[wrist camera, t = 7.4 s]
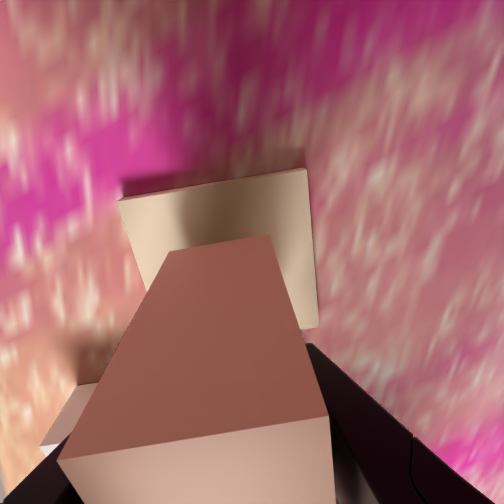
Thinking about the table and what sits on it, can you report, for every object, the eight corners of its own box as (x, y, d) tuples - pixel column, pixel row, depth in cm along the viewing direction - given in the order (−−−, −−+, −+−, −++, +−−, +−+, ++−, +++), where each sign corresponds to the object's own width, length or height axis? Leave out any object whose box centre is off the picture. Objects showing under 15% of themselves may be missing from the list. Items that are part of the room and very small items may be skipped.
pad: (302, 167, 13) (306, 169, 12) (315, 317, 16) (319, 326, 15) (122, 197, 13) (116, 201, 12) (170, 341, 16) (167, 351, 15)
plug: (268, 234, 12) (328, 416, 4) (280, 317, 13) (340, 556, 6) (169, 251, 12) (56, 460, 4) (192, 332, 13) (140, 588, 6)
